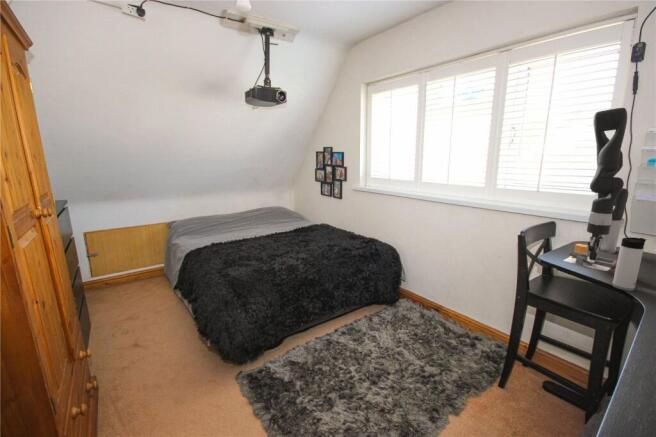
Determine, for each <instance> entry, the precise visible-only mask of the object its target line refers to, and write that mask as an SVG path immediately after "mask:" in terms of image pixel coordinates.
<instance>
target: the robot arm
mask: <svg viewBox="0 0 656 437" xmlns="http://www.w3.org/2000/svg"><path fill="white" fill-rule="evenodd" d="M627 124H628V112H627V109H626V108H625V107H616V108H611V109H605V110H600V111H597V112H595V113H594V115H593V130H594V131H593V132H594V137H595V143H596V170H595V173H594V176H593V178H592V180H591V181H590V184H589V189H590V191H591V192H592V193H595V194H597V198H594V199H593V201H592V204H591V209H590V214H589V218H588V222H587V227H586V232H587V233H589V234H591V236H590V237H589V240H588V242H587V245H588V252H589V256H588V257H589V259H590V260H594V261H595V260H596V258H597V257H598V253H599V252H605V253H609V254H615V253H616V251H617V250H616V249H617V246H618V242H619V238H620V236H619V235H620V231H621V226H622V221H623V218H624V214H625V213H624V212H625V209H626V205H627V202H628V200H629V199H628V198H629V190H628V189H627V188H624V184H625V183H624V180H623V178H621V177H619V176H616V175H617V174H618V173H619V172H620V171H621V170H622V168H623V166H624V154H623V152H622V146H623V141H624V137H625V133H626V128H627ZM609 131H614V134H613V135H612V137H611V138H608V136H607V134H606V132H609Z"/></svg>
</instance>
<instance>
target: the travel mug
mask: <svg viewBox="0 0 656 437" xmlns="http://www.w3.org/2000/svg"><path fill="white" fill-rule="evenodd" d="M646 241H647V239H645V238H643V237H633V236H632V237H631V236H630V237H623V238H621V242H620V247H619V252H618V254H619V256H618V255H617V256H618V261H617V260H616V261H617V265H616V270H615V269H614V270H615V275H614V274H613V276H614V277H613V281H612V286H613V288H616V289H618V290H622V291H628V292H632V291H634V290H635V289H636V285H637V280H638V277H639V271H640V266H641V262H642V258H643V253H644V248H645V245H646V244H645V243H646Z"/></svg>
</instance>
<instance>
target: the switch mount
mask: <svg viewBox="0 0 656 437" xmlns="http://www.w3.org/2000/svg"><path fill="white" fill-rule="evenodd" d="M581 255H582V256H584V257H586V258H587V257H589V256H588V254H587V255H586V254H581ZM584 257H579V256H577V258H576V264H575V265H579V264H580V265H579V266H583V259H584Z"/></svg>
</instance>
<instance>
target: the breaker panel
mask: <svg viewBox="0 0 656 437" xmlns="http://www.w3.org/2000/svg"><path fill="white" fill-rule="evenodd" d="M589 257H590V256H588V257H587V258H589ZM562 261H563V262H567V263H571V264H575V265H577V264H576V258H574V257H572V256H570V255H569V256H568V257H567V258H565V259H563V260H562ZM597 261H599V260H597ZM601 262H603V261H601ZM606 263H608V262H606ZM610 264H611V263H610ZM578 265H579V266H581V265H580V264H578ZM582 266H583V267H586V268H587V267H588V268H591V269H596V270H600V271H603V272H604V271H605V272H608V271H609V270H611V268H610V267H606V266H602V265H597V264H593V265H589V264H587V263H585V262H583V265H582Z"/></svg>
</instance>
